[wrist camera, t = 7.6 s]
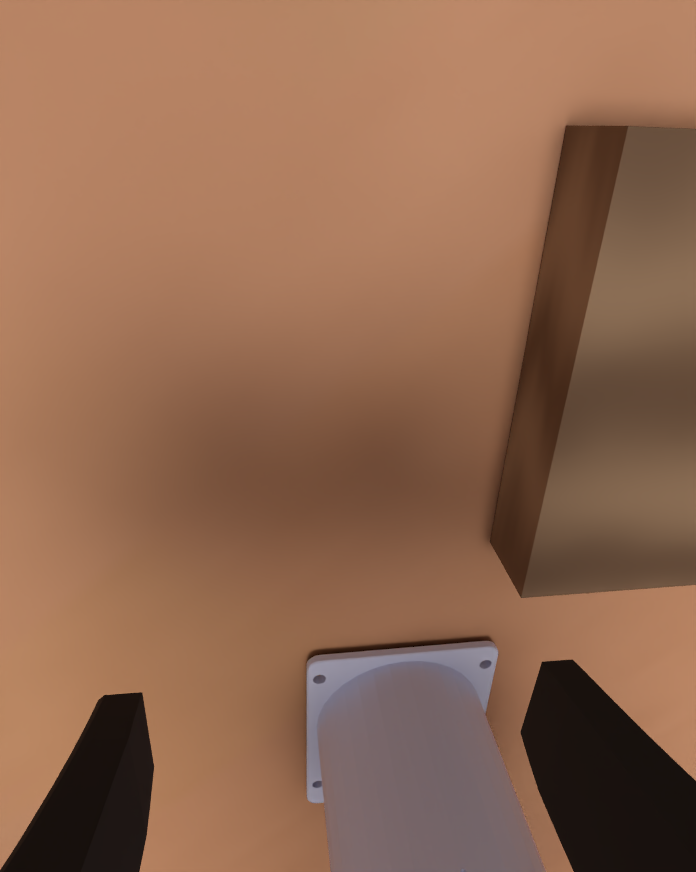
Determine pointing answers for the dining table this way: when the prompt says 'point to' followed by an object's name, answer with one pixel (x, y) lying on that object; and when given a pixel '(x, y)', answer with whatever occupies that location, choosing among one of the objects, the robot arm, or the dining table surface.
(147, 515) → the dining table surface
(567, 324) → the walnut plinth
